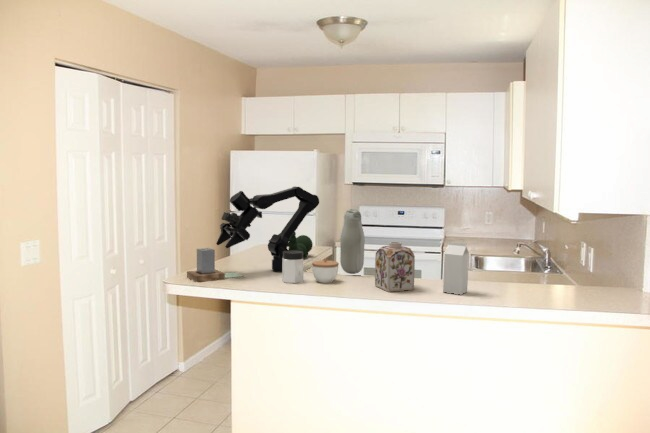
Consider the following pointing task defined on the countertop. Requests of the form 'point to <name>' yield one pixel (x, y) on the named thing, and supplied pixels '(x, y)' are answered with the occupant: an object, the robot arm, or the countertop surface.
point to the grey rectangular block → (205, 261)
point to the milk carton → (456, 268)
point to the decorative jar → (394, 268)
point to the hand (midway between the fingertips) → (221, 246)
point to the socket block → (205, 276)
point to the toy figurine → (300, 244)
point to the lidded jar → (325, 270)
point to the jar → (292, 266)
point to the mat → (232, 275)
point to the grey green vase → (352, 243)
